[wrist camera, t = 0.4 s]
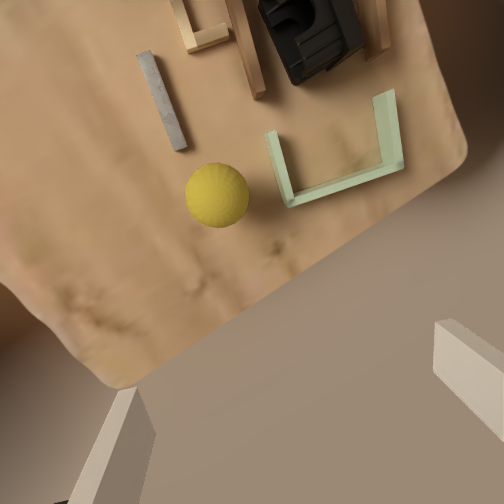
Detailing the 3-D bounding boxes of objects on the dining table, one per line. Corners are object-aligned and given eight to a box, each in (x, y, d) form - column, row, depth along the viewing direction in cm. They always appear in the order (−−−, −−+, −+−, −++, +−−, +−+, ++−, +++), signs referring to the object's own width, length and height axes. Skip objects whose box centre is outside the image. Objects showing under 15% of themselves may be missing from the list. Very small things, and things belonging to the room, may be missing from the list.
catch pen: (263, 135, 34) (267, 132, 31) (379, 94, 34) (394, 88, 31) (283, 204, 37) (288, 208, 34) (390, 168, 36) (404, 168, 34)
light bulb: (246, 164, 35) (254, 165, 25) (243, 217, 37) (250, 236, 27) (192, 161, 34) (179, 160, 24) (192, 215, 36) (180, 233, 26)
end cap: (348, 59, 32) (378, 33, 26) (295, 92, 33) (312, 74, 26) (311, -38, 29) (336, -95, 23) (254, -1, 30) (262, -46, 23)
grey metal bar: (140, 60, 30) (136, 55, 29) (154, 55, 30) (150, 50, 29) (176, 151, 34) (174, 151, 32) (188, 147, 34) (187, 146, 32)
